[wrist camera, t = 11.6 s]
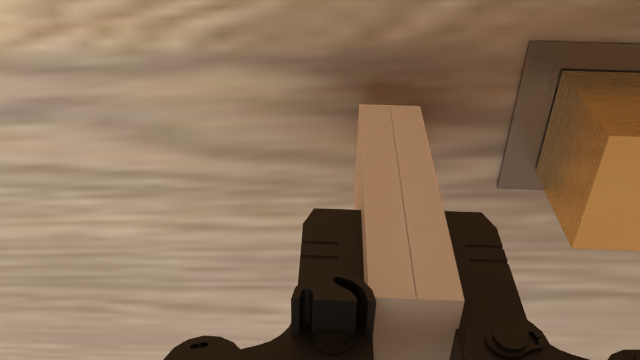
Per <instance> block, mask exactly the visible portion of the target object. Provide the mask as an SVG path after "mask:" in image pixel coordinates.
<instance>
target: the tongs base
mask: <svg viewBox="0 0 640 360" xmlns="http://www.w3.org/2000/svg"><path fill="white" fill-rule="evenodd" d="M562 71H593V72H626V73H640V44H620V43H586V42H552V41H530V42H529V46H528V50H527V55H526V59H525V64H524V68H523V73H522V77H521V82H520V86H519V91H518V95H517V100H516V104H515V108H514V113H513V117H512V122H511V126H510V131H509V135H508V140H507V144H506V149H505V153H504V158H503V162H502V166H501V171H500V175H499V180H498V184H497V188H505V189H535V190H544V189H543V186H542V184H541V182H540V180H539V178H538V176H537V174H536V169H537V165H538V161H539V157H540V154H541V150H542V146H543V142H544V138H545V135H546V131H547V127H548V123H549V119H550V116H551V112H552V108H553V104H554V101H555V97H556V93H557V89H558V85H559V82H560V78H561V74H562Z"/></svg>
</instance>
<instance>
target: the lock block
mask: <svg viewBox="0 0 640 360" xmlns="http://www.w3.org/2000/svg"><path fill="white" fill-rule="evenodd" d="M536 174H537V176H538V178H539V180H540V182H541V184H542V186H543V189H544V191H545V193H546V195H547V197H548V199H549V201H550V203H551V205H552V208H553V210H554V212H555V214H556V216H557V218H558V220H559V222H560V224H561V227H562V229H563V231H564V233H565V235H566V237H567V239H568V241H569V243H570V246H571V248H575V249H604V250H633V251H640V73H626V72H593V71H562V74H561V78H560V82H559V85H558V89H557V93H556V97H555V101H554V104H553V108H552V112H551V116H550V119H549V123H548V127H547V131H546V135H545V138H544V142H543V146H542V150H541V154H540V157H539V161H538V165H537V169H536Z"/></svg>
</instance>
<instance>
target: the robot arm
mask: <svg viewBox="0 0 640 360" xmlns="http://www.w3.org/2000/svg"><path fill="white" fill-rule="evenodd" d="M164 360H588V359H585V358H582V357H578V356H575V355H572V354H569V353H566V352H564V351H561V350H559V349H557V348H555V347H554V346H552V345H550V344H549V342H548V340H547V339H546V337H545V336H544V334H543V332H542V331H541V330H539V329H538V328H537V327H536V326H535V325H534V324H532V323H531V322H530V321H528V320H527V318H526V315H525V312H524V309H523V306H522V303H521V300H520V297H519V294H518V291H517V288H516V285H515V282H514V279H513V276H512V273H511V270H510V267H509V264H507V258H506V255H505V252H504V250H503V249H502V243H501V240H500V237H499V234H498V231H497V228H496V227H495V226H494V225H493V224H492V223H491V222H490V221H489V220H488V219H487V218H486V217H485V216H484V215H483V214H482V213H481V212H451V211H444V208H443V204H442V199H441V195H440V191H439V186H438V182H437V177H436V173H435V169H434V164H433V160H432V156H431V151H430V147H429V142H428V138H427V134H426V129H425V125H424V120H423V116H422V112H421V107H420V106H399V105H367V104H359V116H358V132H357V148H356V164H355V180H354V210H345V209H315V208H314V210H313V211H312V212H311V214H310V215H309V216H308V218H307V219H306V220H305V222H304V223H303V232H302V244H301V257H300V268H299V279H298V286H296V287H295V290H294V293H293V295H292V298H291V324H290V326H289V328H288V329H287V330H286V331H284V332H283V333H282V334H281V335H280V336H278V337H277V338H275V339H273V340H272V341H269V342H266V343H263V344H261V345H257V346H253V347H249V348H245V349H239V348H238V347H237V346H236V345H235V344H234V343H233V342H231V341H229V340H227V339H224V338H222V337H216V336H201V337H197V338H192V339H188V340H187V341H185V342H183V343H181V344H180V345H178V346H176V347H174V348H173V350H172V351H171V352H170V353H169V354H168V355H167V356H166V357H165V359H164ZM608 360H640V350H622V351H619V352H617V353H614V354H612V355H611V356H610V357H609V359H608Z"/></svg>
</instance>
